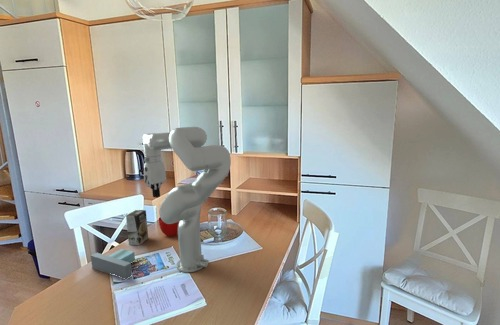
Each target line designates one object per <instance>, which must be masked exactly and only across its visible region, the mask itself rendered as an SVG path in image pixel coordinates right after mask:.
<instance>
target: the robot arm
mask: <svg viewBox="0 0 500 325" xmlns="http://www.w3.org/2000/svg"><path fill="white" fill-rule="evenodd" d="M207 139H208V134H207V132H206V131H205V130H204V129H203V128H201V127H198V126H187V127H185V126H184V127H176V128H173V130H171V131H169V132H159V133H157V132H154V133H153V132H152V133H150V132H148V133H145V134H143V135H142V143H143V155H144V158H143V162H144V165H143V180H144V184H145V187H146V188H150V189H151V191H152V198H160V197H161V192H160V189H161V186H162V184H164V183H165V181H166V180H167V174H166V173H167V172H166V168H165V164H164V161H163V160H162V151H163V150H168V149H169V150H170V149H171V150H172V151H173V152H174V154H176V156H177V157H178V158H179V160H180V161H181V162H182V164H183V165H184V166H185V167H186V168H187V169H188V170H189V171H192V172H200V173H199V174H198V175H197V177H196V178H195V179H194V180H193V181H192V182H189V183H186V184H182V185H181V184H180V185H178V186H175V187H174V188H172V189H171V190H170V191H169V192H168V193H167V195H166V196H165V198H164V200H162V203H161V205H160V206H159V218H161V220H162V221H163V222H164V223H166V224H173V223H176V222H179V224H178V235H177V239H178V241H177V242H178V251H179V252H178V253H179V260H178V261H177V263H176V270H178V271H180V272H182V273H193V272H194V273H195V272H197V271H200V270H202V269H203V268H207V267H208V264H209V260H208V259H205V256H204V254H203V252H202V240H201V238H202V237H201V211H202V204H204V203H205V202H206V201H207V200H208V199H209V198H210V197H211V196H212V194H213V193H214V192H215V190H216V189H217V188H218V187H219V185H221V183H223V181H225V179H226V177H227V176H228V174H229V172H230V170H231V166H232V165H231V164H232V157H231V153H230V151H229V149H227V147H225V146H223V145H219V144H211V145H205V144H206V143H207ZM204 145H205V146H204Z"/></svg>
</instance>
